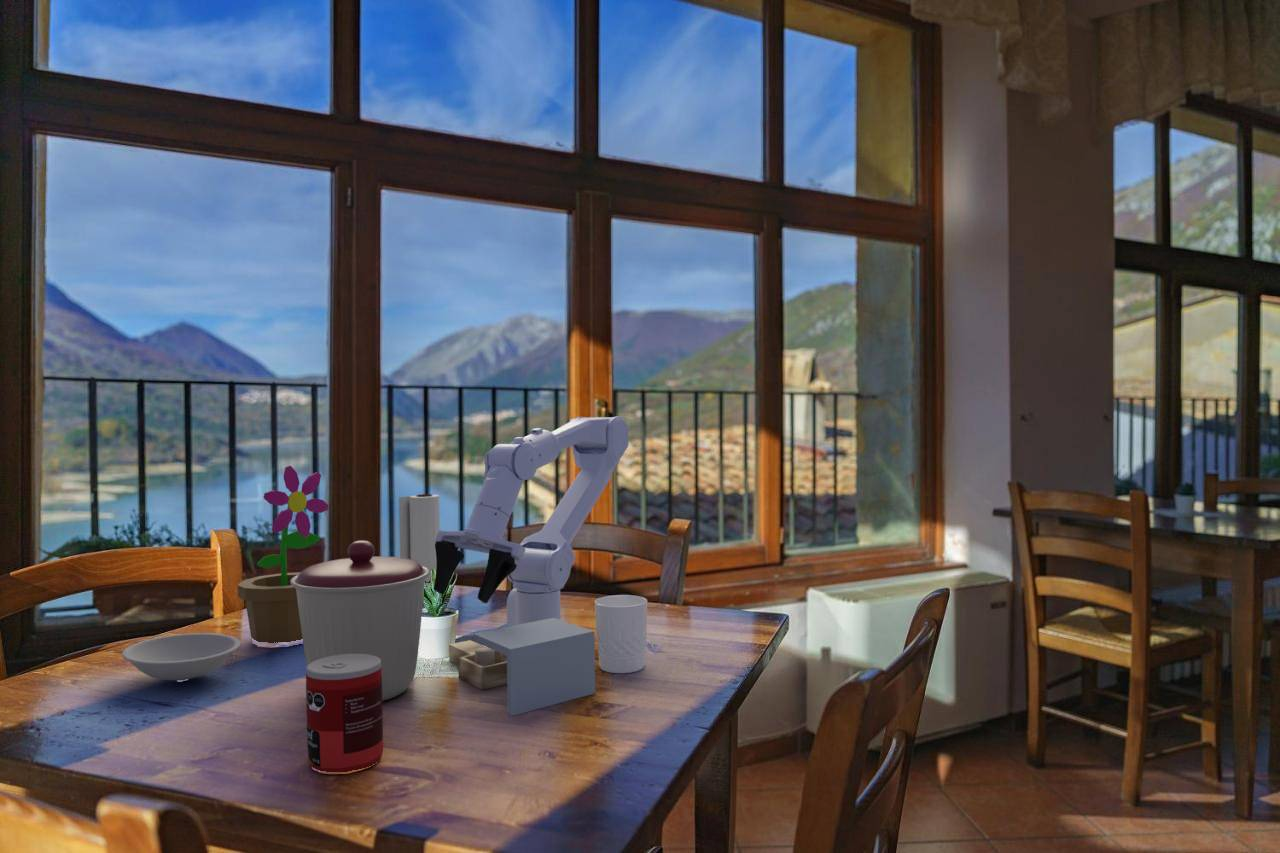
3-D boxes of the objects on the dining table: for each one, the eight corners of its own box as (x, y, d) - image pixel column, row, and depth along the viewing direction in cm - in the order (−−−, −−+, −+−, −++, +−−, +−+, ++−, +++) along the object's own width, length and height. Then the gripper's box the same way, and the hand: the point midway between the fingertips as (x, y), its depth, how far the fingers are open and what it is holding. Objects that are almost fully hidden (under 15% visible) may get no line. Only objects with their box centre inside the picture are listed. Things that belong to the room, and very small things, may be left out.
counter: (474, 695, 114) (473, 633, 114) (554, 675, 122) (553, 617, 122) (511, 716, 106) (510, 649, 106) (595, 693, 115) (594, 631, 114)
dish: (101, 683, 122) (100, 649, 122) (201, 659, 133) (201, 627, 133) (160, 707, 112) (159, 669, 111) (263, 678, 123) (262, 644, 123)
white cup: (642, 676, 122) (641, 607, 122) (589, 673, 123) (588, 605, 123) (652, 660, 129) (651, 595, 129) (602, 658, 131) (601, 594, 131)
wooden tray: (433, 664, 129) (432, 636, 129) (485, 653, 134) (485, 626, 134) (482, 689, 117) (481, 659, 117) (537, 676, 122) (537, 646, 122)
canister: (456, 679, 122) (453, 533, 121) (378, 724, 104) (375, 554, 104) (352, 668, 127) (349, 529, 127) (262, 709, 110) (258, 548, 110)
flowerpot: (273, 656, 134) (270, 468, 133) (220, 644, 142) (217, 466, 141) (347, 635, 146) (344, 463, 146) (295, 625, 154) (292, 461, 153)
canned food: (319, 749, 97) (317, 654, 97) (390, 746, 97) (388, 651, 97) (297, 778, 89) (295, 675, 89) (375, 774, 90) (373, 672, 90)
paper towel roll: (446, 594, 178) (444, 493, 177) (432, 601, 172) (430, 496, 172) (414, 593, 179) (413, 493, 179) (400, 599, 174) (398, 496, 173)
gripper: (440, 496, 130) (406, 578, 124) (522, 508, 125) (490, 595, 119) (460, 515, 136) (429, 594, 130) (540, 528, 131) (510, 611, 125)
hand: (460, 596), depth 125 cm, fingers open, 7 cm apart
